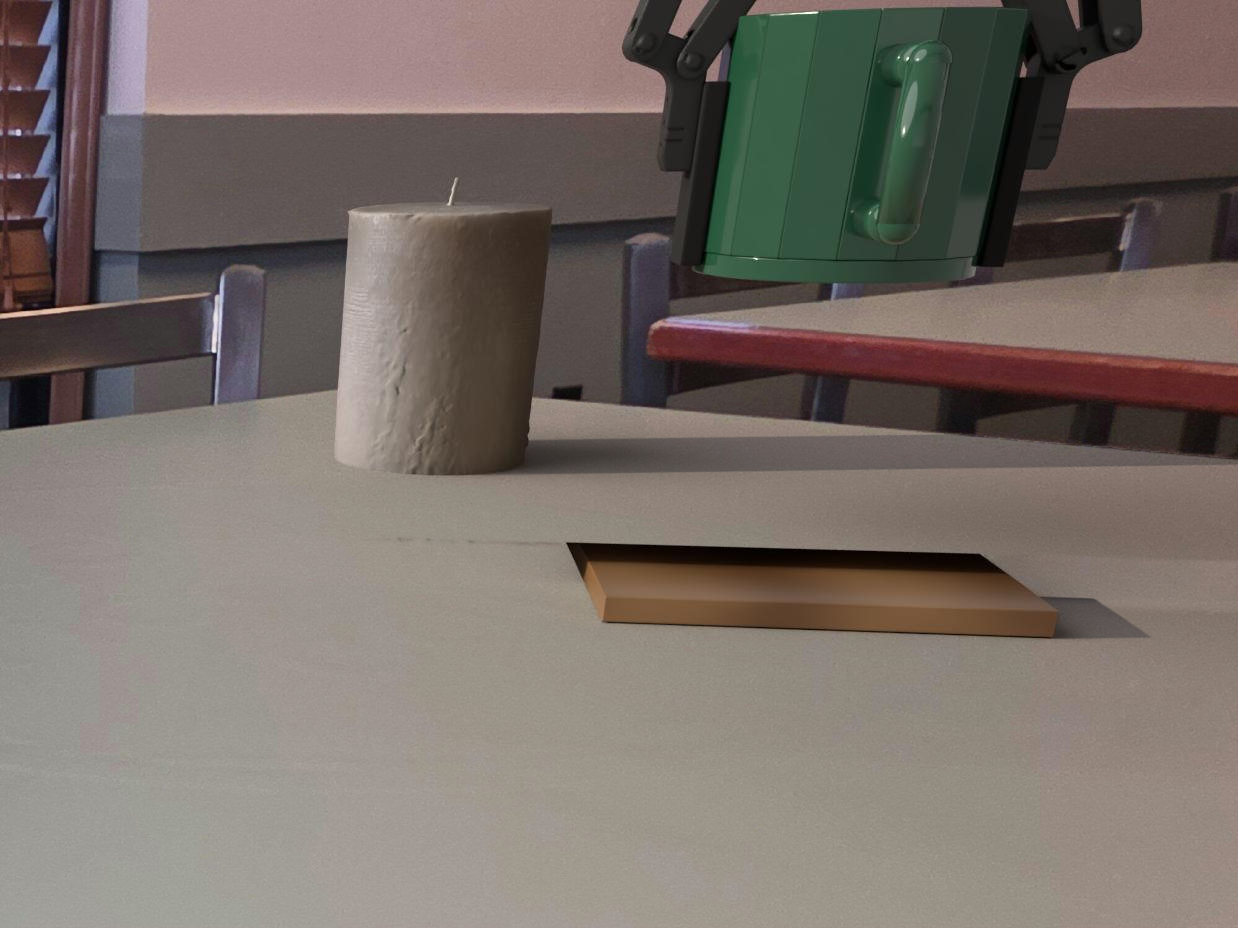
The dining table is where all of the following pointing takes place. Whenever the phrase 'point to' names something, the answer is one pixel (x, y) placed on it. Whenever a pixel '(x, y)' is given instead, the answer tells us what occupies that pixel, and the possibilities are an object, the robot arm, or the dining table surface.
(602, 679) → the dining table surface
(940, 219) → the mug
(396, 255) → the pillar candle
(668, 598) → the trivet
